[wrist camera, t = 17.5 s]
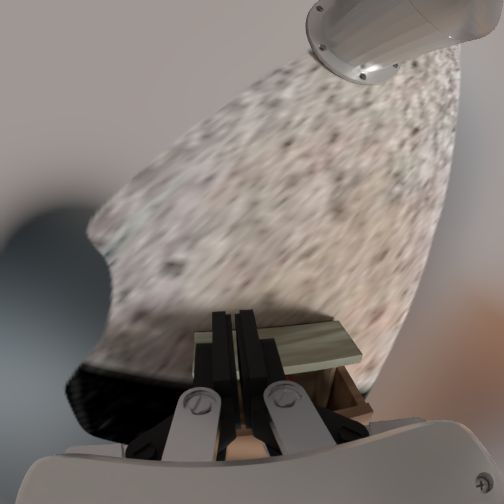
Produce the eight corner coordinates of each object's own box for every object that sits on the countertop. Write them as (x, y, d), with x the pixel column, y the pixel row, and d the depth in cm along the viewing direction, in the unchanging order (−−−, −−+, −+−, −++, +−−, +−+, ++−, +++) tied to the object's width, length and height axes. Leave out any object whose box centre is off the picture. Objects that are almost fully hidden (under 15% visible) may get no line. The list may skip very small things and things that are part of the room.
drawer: (194, 332, 34) (192, 373, 27) (338, 320, 37) (362, 354, 30) (205, 408, 39) (206, 446, 32) (323, 395, 41) (338, 429, 34)
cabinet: (197, 355, 36) (197, 438, 23) (332, 343, 38) (373, 411, 26) (206, 413, 40) (210, 485, 28) (320, 401, 43) (347, 464, 30)
